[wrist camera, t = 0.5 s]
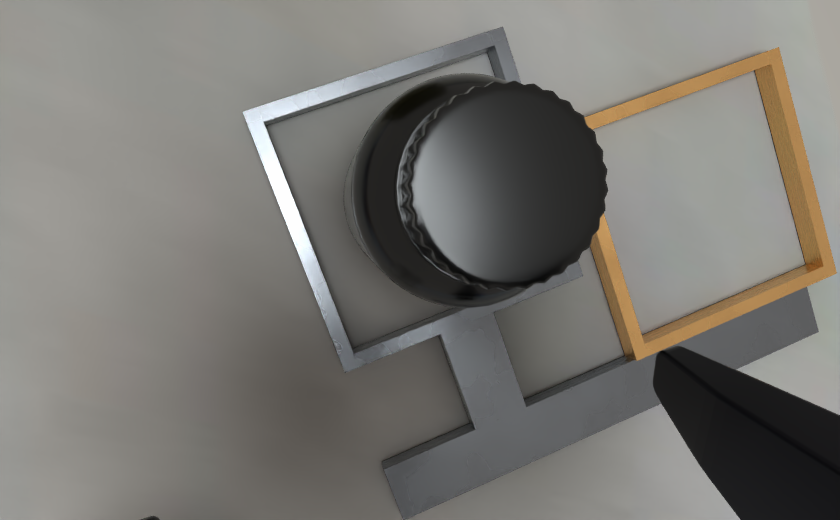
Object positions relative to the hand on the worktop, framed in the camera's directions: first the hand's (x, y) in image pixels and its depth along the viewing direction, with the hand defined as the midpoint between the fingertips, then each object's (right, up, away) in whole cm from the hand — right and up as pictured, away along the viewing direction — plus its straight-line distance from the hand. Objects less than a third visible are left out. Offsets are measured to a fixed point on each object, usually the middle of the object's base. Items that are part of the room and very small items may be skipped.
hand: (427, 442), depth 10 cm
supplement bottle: (0, +6, +15) cm, 16 cm away
